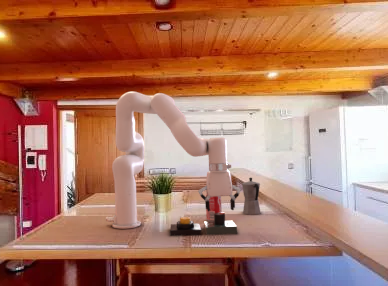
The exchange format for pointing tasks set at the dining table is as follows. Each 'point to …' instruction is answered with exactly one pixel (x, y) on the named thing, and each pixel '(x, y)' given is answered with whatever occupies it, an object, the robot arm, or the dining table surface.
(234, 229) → the control panel
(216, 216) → the dial knob
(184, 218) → the button
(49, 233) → the dining table surface
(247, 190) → the coffeepot
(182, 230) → the button housing
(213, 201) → the soda can
